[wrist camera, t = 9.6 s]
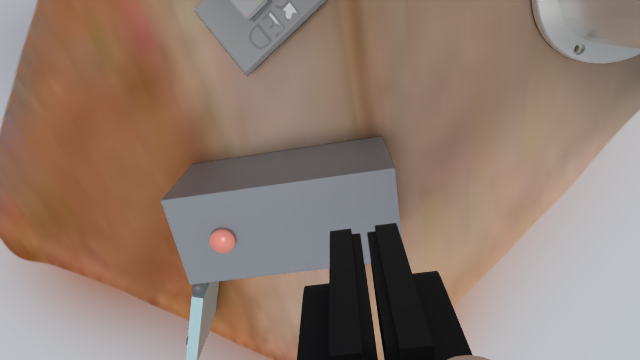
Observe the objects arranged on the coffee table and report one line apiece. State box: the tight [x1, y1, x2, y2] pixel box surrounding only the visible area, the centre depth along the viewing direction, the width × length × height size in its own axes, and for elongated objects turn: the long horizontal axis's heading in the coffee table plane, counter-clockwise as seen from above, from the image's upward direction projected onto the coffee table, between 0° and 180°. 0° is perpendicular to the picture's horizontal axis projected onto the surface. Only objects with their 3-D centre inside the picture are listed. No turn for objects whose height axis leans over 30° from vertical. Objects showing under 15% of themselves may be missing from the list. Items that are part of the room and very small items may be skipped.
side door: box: [186, 281, 219, 360], centre depth 39 cm, size 8×2×7 cm, turn 169°
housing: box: [161, 136, 402, 295], centre depth 35 cm, size 18×9×9 cm, turn 99°
